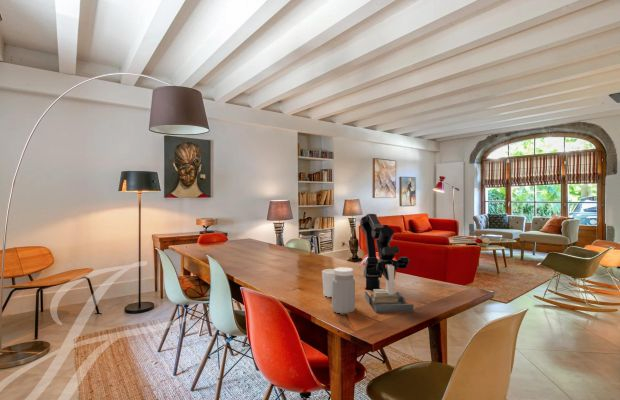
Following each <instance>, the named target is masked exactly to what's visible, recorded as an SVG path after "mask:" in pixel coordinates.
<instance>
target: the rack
mask: <svg viewBox="0 0 620 400" xmlns="http://www.w3.org/2000/svg"><path fill="white" fill-rule="evenodd" d="M395 292H396V293H397V299H398V302H385V303H374V302H373V301H372V299H371V295H369V294H368V292H367V291H365V292H364V298H365V300H366V302H367V303H368V304H369V306H370V307H371V308H372V309H373V311H374V313H376V314H378V313H379V314H380V313H382V314H383V313H385V314H386V313H414V307H415V306H414V303H405V302H406V301H405V296H404V295H403V294H402V293H400V292H399V291H395Z"/></svg>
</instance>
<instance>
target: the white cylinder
mask: <svg viewBox="0 0 620 400" xmlns="http://www.w3.org/2000/svg"><path fill="white" fill-rule="evenodd" d="M334 269H335V268H326V269H322V270H321V276H322V290H323V293H322V294H323V296H324V297H325V296H327V297H326V298H330V297H332V279H333V278H334V275H335V274H334Z"/></svg>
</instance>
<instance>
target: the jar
mask: <svg viewBox="0 0 620 400" xmlns="http://www.w3.org/2000/svg"><path fill="white" fill-rule="evenodd" d="M333 269H334V274H335V275H334V278H333V279H332V298H331V301H332V302H331V308H332V310H333V312H334V313H335V312H336V314H337V313H340V314H339V315H348V314H349V313H352V312H354V311H355V310H356V280H355V279H354V269H353V268H351V267H347V266H344V267H343V266H339V267H335V268H333Z"/></svg>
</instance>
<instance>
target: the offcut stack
mask: <svg viewBox="0 0 620 400" xmlns="http://www.w3.org/2000/svg"><path fill="white" fill-rule="evenodd" d="M396 292H397V291H396V290H395V289H394V294H391V295H389V294H388V293H387V292H386V288H385V289H383V288H381V289H380V288H379V289H373V290H372V292H371V293H370V297H371V299H372V301H373V302H374V303H385V302H398V299H397V293H396Z"/></svg>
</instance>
